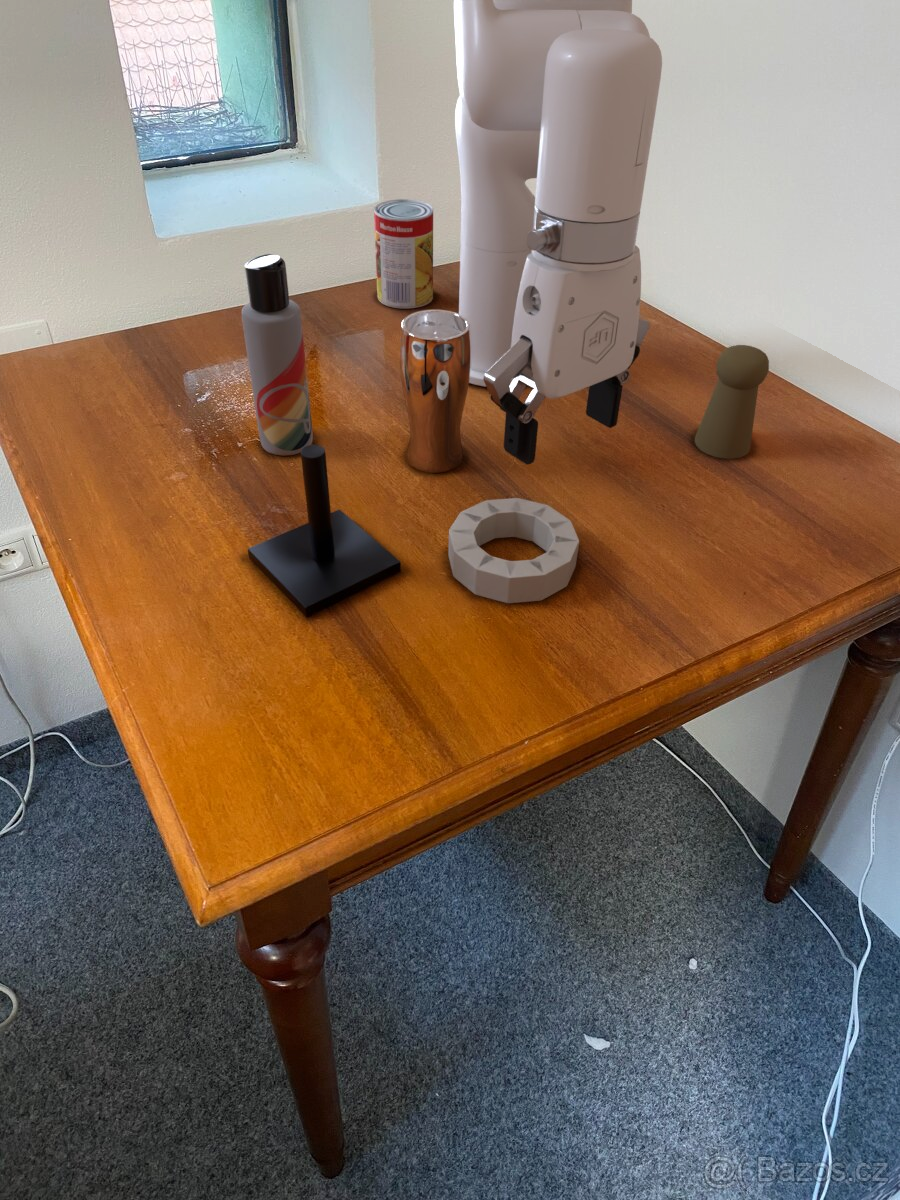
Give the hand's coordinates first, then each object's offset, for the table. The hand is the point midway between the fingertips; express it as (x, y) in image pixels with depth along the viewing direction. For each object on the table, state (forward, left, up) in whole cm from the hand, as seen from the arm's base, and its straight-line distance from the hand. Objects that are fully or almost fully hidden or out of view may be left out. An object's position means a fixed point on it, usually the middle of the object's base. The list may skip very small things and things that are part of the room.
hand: (560, 438), depth 75 cm
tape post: (+18, -10, -12) cm, 24 cm away
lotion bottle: (+10, -30, -12) cm, 34 cm away
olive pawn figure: (-28, -1, -12) cm, 30 cm away
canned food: (-23, -53, -12) cm, 59 cm away
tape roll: (+4, 0, -12) cm, 12 cm away
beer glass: (-1, -18, -12) cm, 22 cm away
